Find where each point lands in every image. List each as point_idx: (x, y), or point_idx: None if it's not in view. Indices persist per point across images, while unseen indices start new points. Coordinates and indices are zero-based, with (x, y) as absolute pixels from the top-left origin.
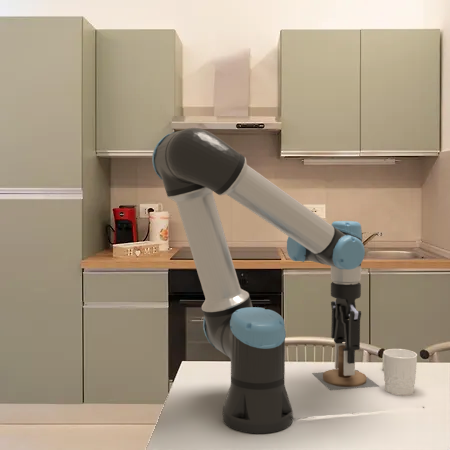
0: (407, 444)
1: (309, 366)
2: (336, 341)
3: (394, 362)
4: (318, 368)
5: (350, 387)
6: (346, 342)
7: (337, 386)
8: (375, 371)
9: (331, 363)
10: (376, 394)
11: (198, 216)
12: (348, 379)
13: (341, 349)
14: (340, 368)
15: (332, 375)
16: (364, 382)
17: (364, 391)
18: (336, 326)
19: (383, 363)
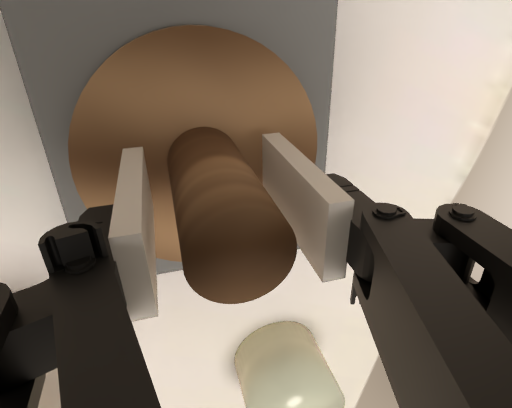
0: None
1: (465, 42)
2: (361, 221)
3: None
4: (422, 81)
5: (61, 148)
6: (71, 311)
7: (77, 75)
8: (310, 302)
9: (454, 165)
10: (13, 251)
11: None
12: None
13: (204, 216)
14: (189, 148)
15: (216, 92)
16: None
17: (57, 209)
18: (471, 337)
19: (293, 355)
